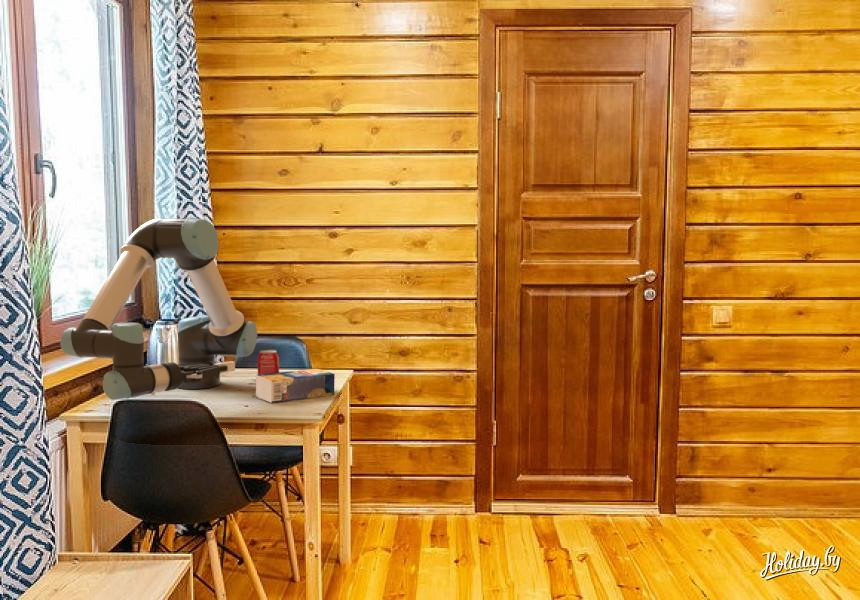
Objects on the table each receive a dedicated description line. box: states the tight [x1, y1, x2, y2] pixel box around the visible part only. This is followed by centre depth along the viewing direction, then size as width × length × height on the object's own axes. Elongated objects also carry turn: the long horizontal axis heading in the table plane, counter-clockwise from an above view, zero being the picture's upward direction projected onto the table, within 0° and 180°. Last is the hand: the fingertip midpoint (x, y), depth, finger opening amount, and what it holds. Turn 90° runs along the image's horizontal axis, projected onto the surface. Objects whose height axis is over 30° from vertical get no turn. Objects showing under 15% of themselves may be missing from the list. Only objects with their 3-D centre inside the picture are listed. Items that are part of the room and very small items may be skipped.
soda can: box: [257, 349, 280, 375], centre depth 249 cm, size 7×7×12 cm
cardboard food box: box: [255, 368, 336, 404], centre depth 236 cm, size 7×11×22 cm
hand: (233, 365), depth 220 cm, fingers closed
